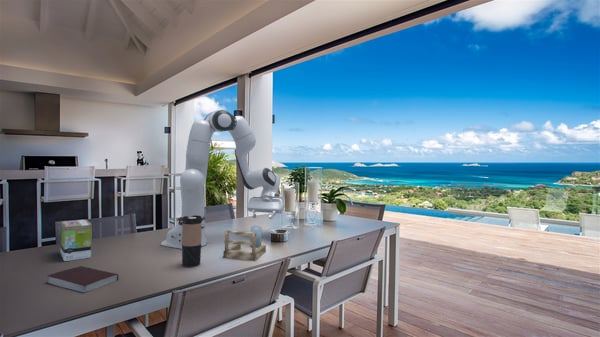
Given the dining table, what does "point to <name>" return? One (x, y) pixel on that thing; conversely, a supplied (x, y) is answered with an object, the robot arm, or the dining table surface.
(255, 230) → the grey upright block
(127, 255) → the dining table surface
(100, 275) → the book
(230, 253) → the rack
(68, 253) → the tea box
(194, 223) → the travel mug
